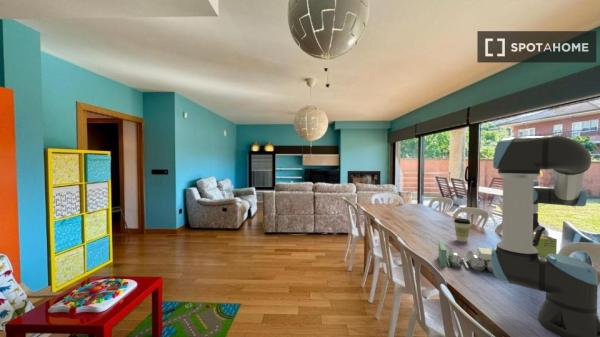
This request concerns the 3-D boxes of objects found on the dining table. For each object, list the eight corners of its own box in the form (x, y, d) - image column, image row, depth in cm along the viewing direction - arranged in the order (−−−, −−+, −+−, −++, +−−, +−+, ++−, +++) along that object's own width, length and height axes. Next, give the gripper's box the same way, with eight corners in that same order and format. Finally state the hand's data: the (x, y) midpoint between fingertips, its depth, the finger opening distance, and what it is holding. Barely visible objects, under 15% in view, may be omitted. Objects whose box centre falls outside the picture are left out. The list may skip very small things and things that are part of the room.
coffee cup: (450, 239, 180) (450, 218, 180) (460, 238, 183) (461, 217, 183) (463, 243, 171) (463, 221, 170) (473, 242, 174) (474, 220, 173)
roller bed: (523, 278, 120) (523, 265, 120) (470, 270, 129) (471, 258, 128) (512, 267, 133) (512, 255, 133) (465, 260, 141) (465, 250, 141)
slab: (521, 264, 122) (521, 258, 122) (481, 259, 128) (482, 253, 128) (514, 257, 131) (514, 251, 131) (477, 252, 137) (477, 247, 137)
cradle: (468, 270, 129) (468, 267, 129) (448, 267, 133) (448, 264, 133) (463, 260, 142) (463, 257, 142) (445, 257, 145) (445, 255, 145)
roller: (465, 265, 131) (458, 255, 132) (453, 269, 133) (447, 259, 134) (461, 257, 142) (455, 247, 143) (450, 261, 144) (445, 251, 145)
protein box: (556, 268, 130) (557, 239, 130) (522, 266, 134) (523, 237, 133) (541, 261, 141) (542, 233, 140) (510, 258, 144) (510, 232, 143)
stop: (446, 266, 133) (446, 250, 133) (441, 266, 134) (441, 249, 134) (443, 257, 146) (443, 242, 146) (438, 257, 147) (438, 241, 147)
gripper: (541, 211, 125) (540, 258, 125) (508, 209, 130) (507, 254, 131) (548, 214, 118) (547, 263, 119) (513, 212, 123) (512, 259, 124)
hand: (526, 258), depth 125 cm, fingers closed
